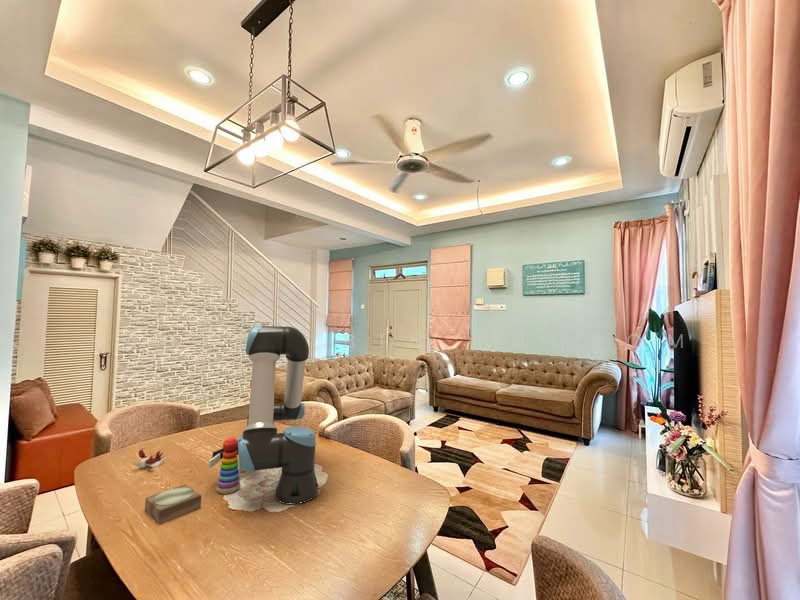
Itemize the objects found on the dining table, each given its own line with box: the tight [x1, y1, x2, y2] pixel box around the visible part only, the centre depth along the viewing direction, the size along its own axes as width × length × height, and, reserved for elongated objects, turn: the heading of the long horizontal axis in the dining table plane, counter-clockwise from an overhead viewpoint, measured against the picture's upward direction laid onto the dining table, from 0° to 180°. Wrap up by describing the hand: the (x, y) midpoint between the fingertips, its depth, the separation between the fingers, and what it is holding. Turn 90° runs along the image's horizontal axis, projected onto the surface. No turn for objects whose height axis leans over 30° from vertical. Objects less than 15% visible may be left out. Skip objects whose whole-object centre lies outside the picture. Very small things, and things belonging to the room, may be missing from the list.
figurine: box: [132, 447, 167, 469], centre depth 143 cm, size 15×12×7 cm
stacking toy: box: [216, 436, 241, 495], centre depth 127 cm, size 8×8×19 cm
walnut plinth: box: [144, 484, 202, 525], centre depth 113 cm, size 12×12×4 cm
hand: (224, 465), depth 123 cm, fingers open, 10 cm apart
